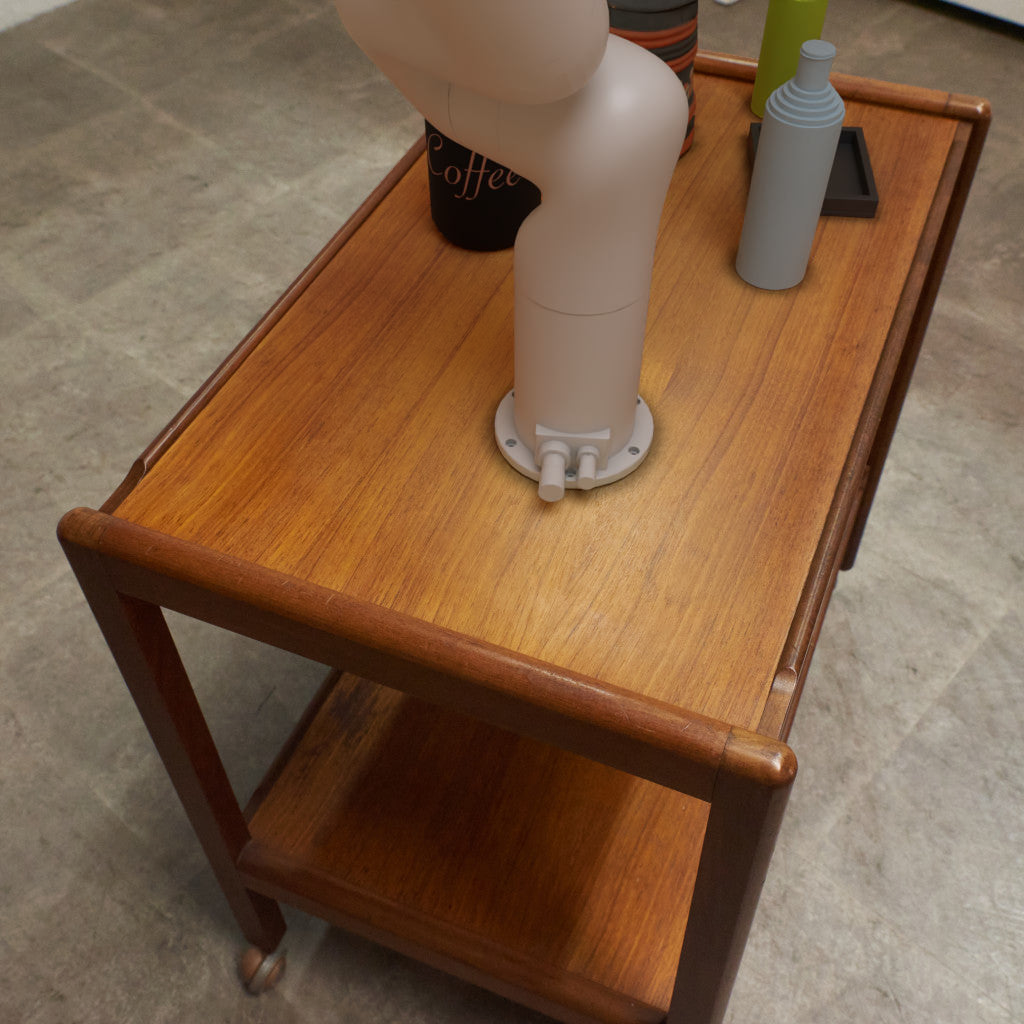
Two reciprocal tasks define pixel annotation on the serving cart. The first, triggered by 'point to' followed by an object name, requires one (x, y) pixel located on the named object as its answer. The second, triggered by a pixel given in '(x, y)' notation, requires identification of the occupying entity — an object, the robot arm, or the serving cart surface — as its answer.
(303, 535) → the serving cart surface
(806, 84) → the bottle
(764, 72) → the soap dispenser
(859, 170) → the tray
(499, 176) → the coffee jar
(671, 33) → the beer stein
